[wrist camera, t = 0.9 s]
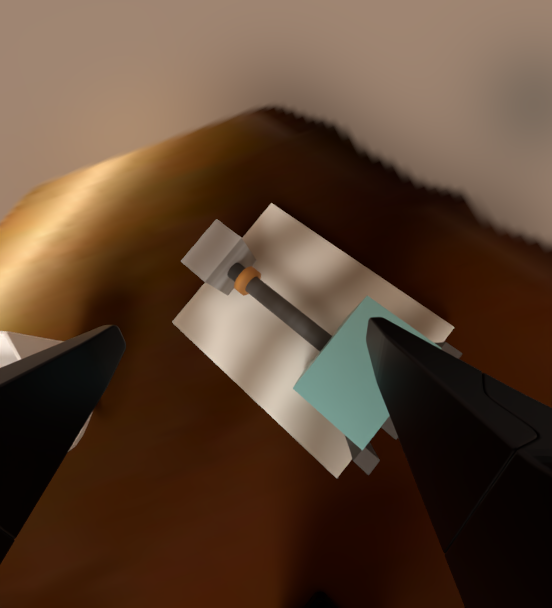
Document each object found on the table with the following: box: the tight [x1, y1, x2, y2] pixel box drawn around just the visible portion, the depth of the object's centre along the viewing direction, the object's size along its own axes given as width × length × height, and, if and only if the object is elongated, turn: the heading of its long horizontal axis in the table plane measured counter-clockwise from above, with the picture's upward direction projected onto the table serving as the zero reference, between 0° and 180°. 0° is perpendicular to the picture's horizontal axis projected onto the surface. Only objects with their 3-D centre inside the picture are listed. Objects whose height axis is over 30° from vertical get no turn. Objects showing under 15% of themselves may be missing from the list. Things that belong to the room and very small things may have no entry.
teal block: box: [293, 296, 442, 450], centre depth 15 cm, size 4×6×7 cm
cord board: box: [172, 203, 462, 478], centre depth 18 cm, size 18×14×6 cm
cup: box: [0, 331, 93, 451], centre depth 20 cm, size 7×10×8 cm
